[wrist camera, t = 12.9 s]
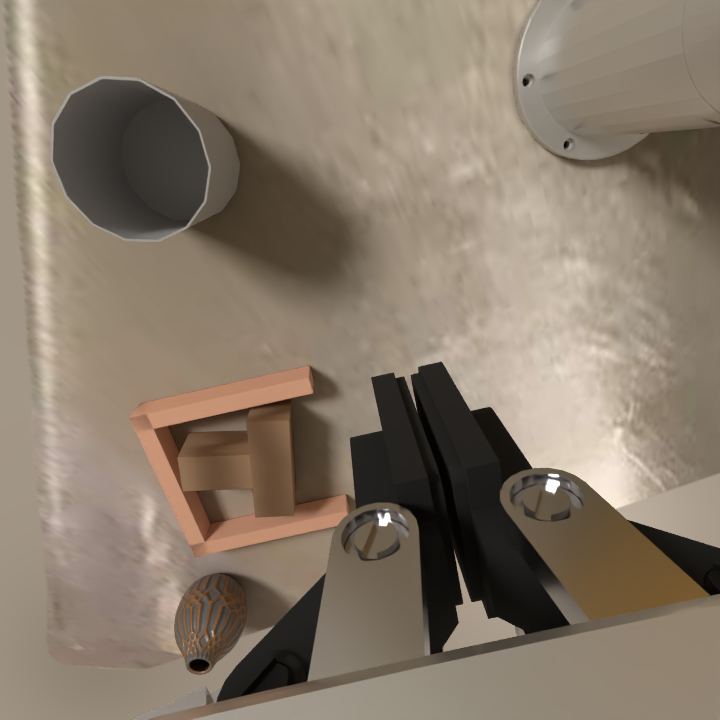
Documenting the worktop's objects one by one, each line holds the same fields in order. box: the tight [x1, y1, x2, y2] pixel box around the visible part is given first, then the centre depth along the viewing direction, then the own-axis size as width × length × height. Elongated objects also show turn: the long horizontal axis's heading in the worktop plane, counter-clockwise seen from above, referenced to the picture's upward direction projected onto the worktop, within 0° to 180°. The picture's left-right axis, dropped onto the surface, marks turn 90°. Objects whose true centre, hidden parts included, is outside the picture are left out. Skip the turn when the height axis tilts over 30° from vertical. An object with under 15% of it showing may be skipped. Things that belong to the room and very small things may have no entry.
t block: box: [177, 398, 296, 518], centre depth 43 cm, size 10×10×4 cm
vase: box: [174, 574, 247, 675], centre depth 47 cm, size 7×7×9 cm
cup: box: [50, 76, 241, 242], centre depth 30 cm, size 8×8×10 cm
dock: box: [130, 366, 349, 557], centre depth 44 cm, size 16×16×2 cm
